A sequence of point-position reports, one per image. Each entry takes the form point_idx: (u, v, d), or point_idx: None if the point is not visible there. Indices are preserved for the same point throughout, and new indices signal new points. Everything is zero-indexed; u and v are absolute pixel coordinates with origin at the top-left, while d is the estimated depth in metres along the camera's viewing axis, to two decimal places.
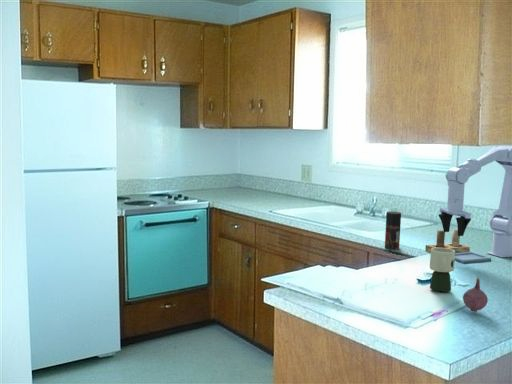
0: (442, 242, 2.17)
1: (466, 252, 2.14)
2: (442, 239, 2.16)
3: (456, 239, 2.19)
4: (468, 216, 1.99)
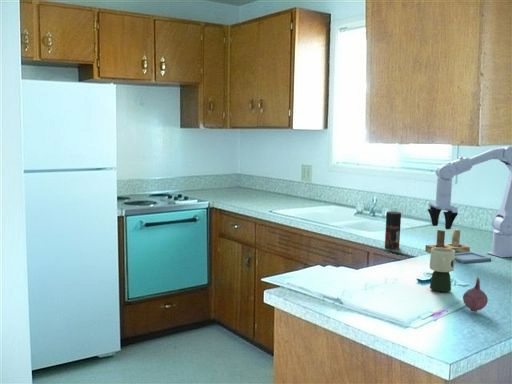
0: (442, 242, 2.17)
1: (466, 252, 2.14)
2: (442, 239, 2.16)
3: (456, 239, 2.19)
4: (455, 210, 2.10)
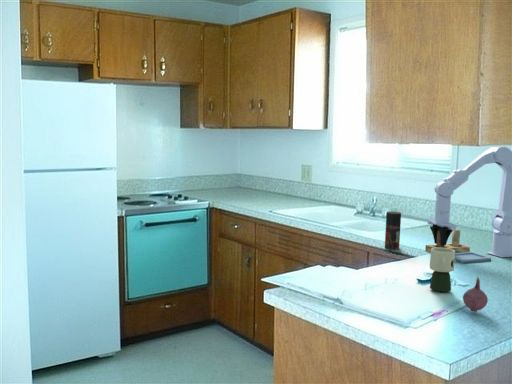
0: None
1: (466, 252, 2.14)
2: None
3: (456, 239, 2.19)
4: (454, 228, 2.10)
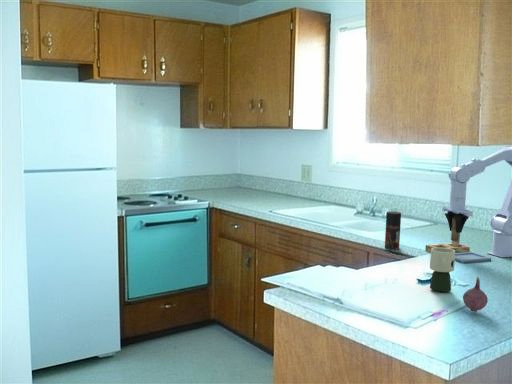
0: None
1: (466, 252, 2.14)
2: None
3: None
4: (470, 214, 2.04)
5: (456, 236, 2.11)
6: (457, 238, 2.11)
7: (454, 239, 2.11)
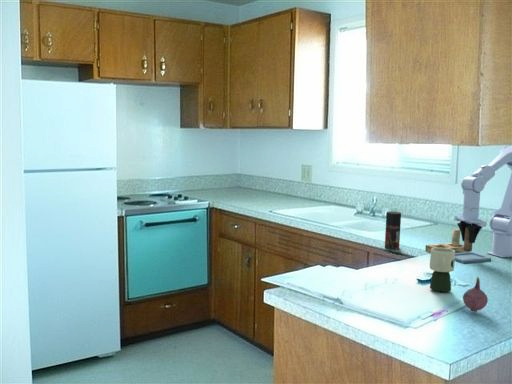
0: None
1: (466, 252, 2.14)
2: None
3: (456, 239, 2.19)
4: (484, 225, 2.00)
5: (469, 247, 2.07)
6: (470, 249, 2.07)
7: (467, 250, 2.07)
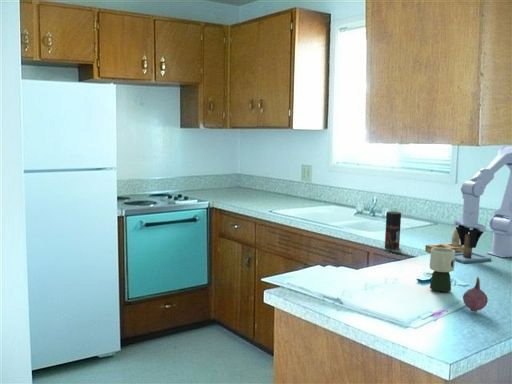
0: None
1: None
2: None
3: (456, 239, 2.19)
4: (483, 229, 2.00)
5: (469, 253, 2.07)
6: (469, 255, 2.07)
7: (466, 256, 2.07)
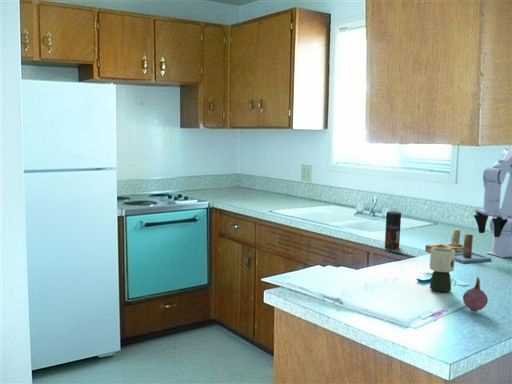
0: (470, 246, 2.07)
1: None
2: (470, 243, 2.06)
3: (456, 239, 2.19)
4: (505, 217, 1.97)
5: (468, 253, 2.07)
6: (469, 255, 2.07)
7: (466, 256, 2.07)
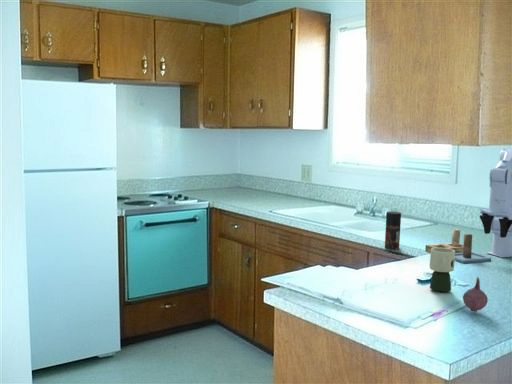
0: (470, 246, 2.07)
1: None
2: (469, 243, 2.06)
3: (456, 239, 2.19)
4: None
5: (468, 253, 2.07)
6: (469, 255, 2.07)
7: (466, 256, 2.07)
